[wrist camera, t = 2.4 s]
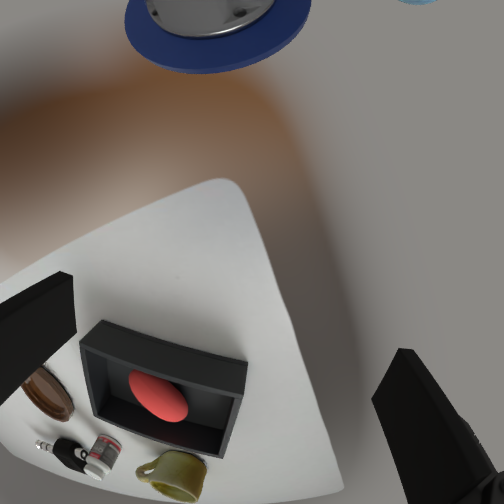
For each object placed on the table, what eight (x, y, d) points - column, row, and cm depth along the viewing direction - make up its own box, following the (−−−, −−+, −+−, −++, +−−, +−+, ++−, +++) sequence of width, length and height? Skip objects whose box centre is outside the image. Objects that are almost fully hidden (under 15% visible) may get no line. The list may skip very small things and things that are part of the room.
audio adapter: (100, 482, 41) (43, 460, 44) (107, 467, 46) (50, 449, 49) (73, 456, 38) (20, 435, 41) (83, 441, 43) (29, 424, 46)
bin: (101, 319, 32) (78, 341, 27) (248, 362, 32) (243, 394, 26) (109, 392, 36) (93, 416, 31) (228, 429, 36) (222, 458, 31)
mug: (218, 463, 37) (194, 508, 29) (212, 471, 42) (191, 508, 34) (153, 431, 39) (126, 473, 30) (157, 444, 44) (134, 479, 36)
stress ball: (173, 353, 33) (134, 370, 28) (203, 413, 32) (169, 436, 26) (154, 359, 36) (118, 374, 31) (181, 414, 34) (149, 433, 29)
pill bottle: (107, 432, 40) (88, 467, 31) (127, 448, 41) (110, 483, 32) (94, 435, 41) (75, 466, 32) (113, 450, 42) (96, 482, 33)
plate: (16, 348, 37) (8, 354, 34) (67, 378, 37) (60, 386, 34) (32, 395, 41) (26, 401, 38) (80, 423, 41) (75, 431, 38)
